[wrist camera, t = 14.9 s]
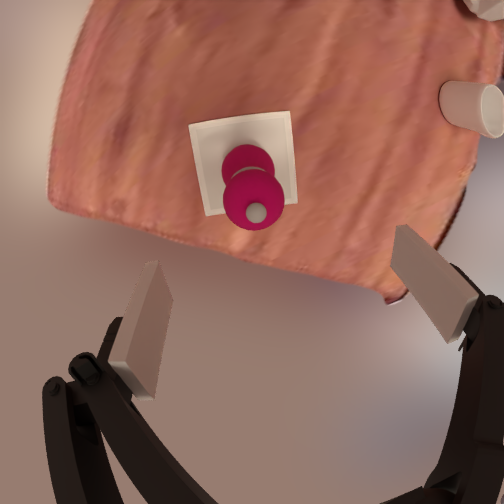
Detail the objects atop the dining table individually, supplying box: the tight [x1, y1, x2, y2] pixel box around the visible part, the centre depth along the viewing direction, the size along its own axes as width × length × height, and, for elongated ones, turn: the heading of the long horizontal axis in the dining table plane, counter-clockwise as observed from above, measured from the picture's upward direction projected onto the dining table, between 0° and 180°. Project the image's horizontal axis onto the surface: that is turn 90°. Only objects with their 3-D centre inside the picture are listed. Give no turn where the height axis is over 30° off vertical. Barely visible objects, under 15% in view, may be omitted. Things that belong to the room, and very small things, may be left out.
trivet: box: [188, 111, 298, 216], centre depth 41 cm, size 15×15×1 cm
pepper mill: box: [221, 144, 285, 231], centre depth 31 cm, size 7×7×20 cm
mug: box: [439, 81, 504, 138], centre depth 31 cm, size 10×12×12 cm
